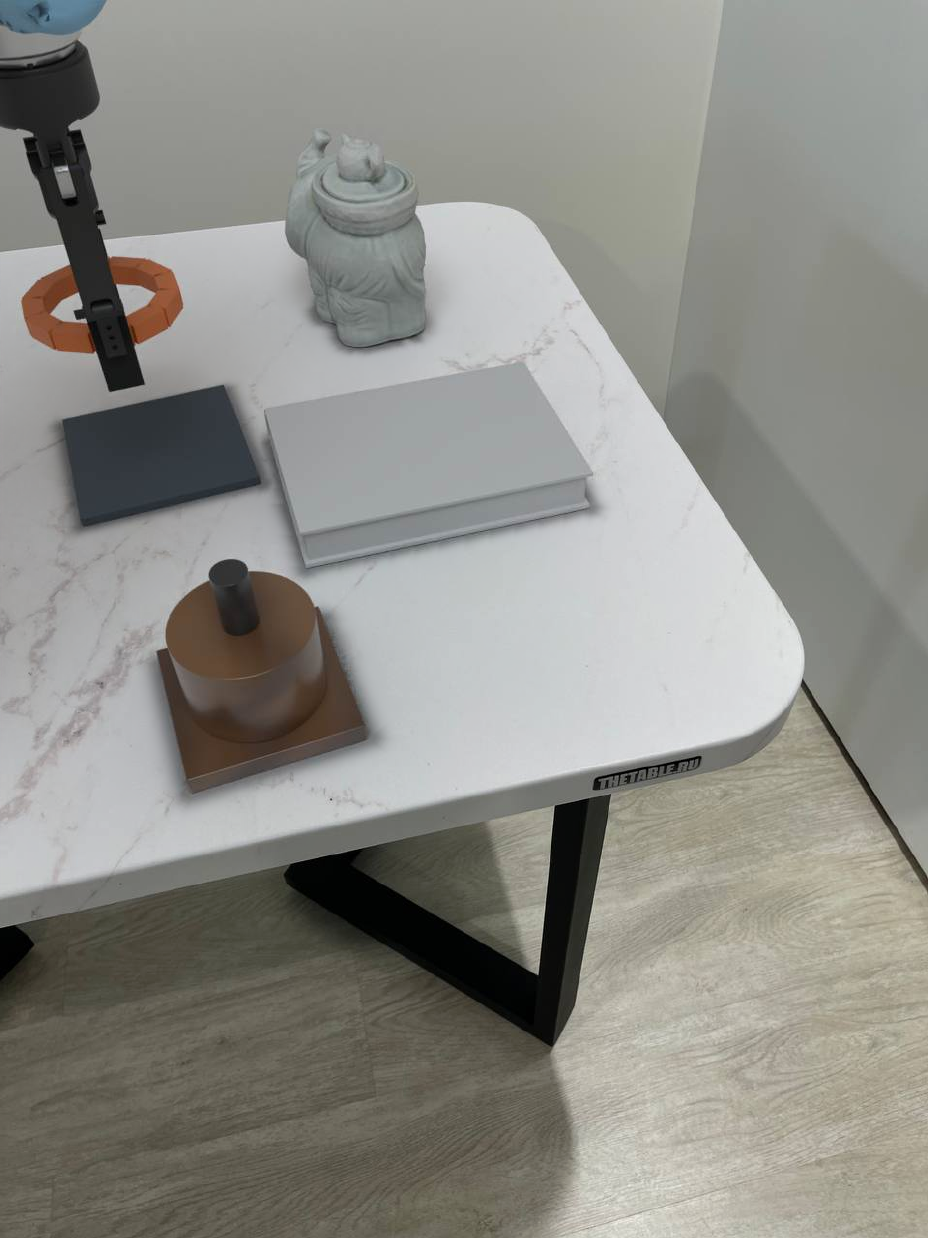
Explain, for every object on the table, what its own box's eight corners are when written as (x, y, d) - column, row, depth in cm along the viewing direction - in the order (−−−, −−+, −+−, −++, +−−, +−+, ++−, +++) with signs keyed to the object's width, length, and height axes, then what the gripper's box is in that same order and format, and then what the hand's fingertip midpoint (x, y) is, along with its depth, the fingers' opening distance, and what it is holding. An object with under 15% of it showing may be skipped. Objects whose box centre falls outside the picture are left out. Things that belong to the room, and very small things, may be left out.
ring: (35, 366, 74) (28, 347, 73) (23, 291, 81) (16, 272, 80) (194, 333, 77) (189, 314, 75) (168, 264, 84) (163, 245, 83)
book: (593, 472, 82) (299, 532, 77) (589, 508, 85) (305, 568, 80) (519, 353, 94) (261, 400, 89) (518, 389, 97) (268, 435, 92)
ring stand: (191, 794, 66) (144, 669, 57) (160, 664, 73) (114, 535, 64) (368, 739, 68) (350, 611, 59) (320, 619, 76) (298, 490, 67)
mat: (83, 526, 84) (80, 519, 83) (64, 426, 93) (61, 419, 93) (261, 483, 87) (259, 476, 87) (225, 391, 97) (223, 384, 96)
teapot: (315, 269, 113) (292, 89, 100) (448, 278, 111) (443, 96, 98) (272, 348, 102) (239, 159, 88) (419, 360, 100) (408, 168, 87)
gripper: (109, 103, 58) (189, 416, 74) (65, -12, 74) (140, 268, 90) (-27, 124, 57) (85, 440, 72) (-43, 1, 72) (52, 284, 88)
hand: (115, 345), depth 81 cm, fingers closed on ring, 12 cm apart
